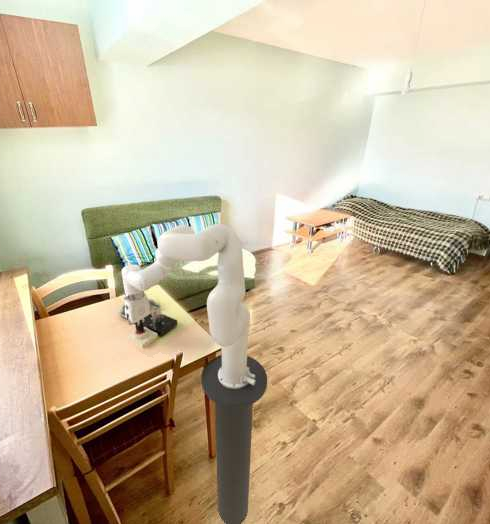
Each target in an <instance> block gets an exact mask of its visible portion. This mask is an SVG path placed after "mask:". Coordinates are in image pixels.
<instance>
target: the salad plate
mask: <svg viewBox="0 0 490 524" xmlns="http://www.w3.org/2000/svg"><path fill="white" fill-rule="evenodd" d="M148 301H149V305H150V314H151V312H152V311H153V310H156V309H158V308H161V305H160V304H157V303H156V301H155V300H154V299H153V298H148ZM123 303H124V304H123V306H122V308H121V309H120V311H119V315H120V317H121V318H124V319H126V316H125V302H123ZM147 316H148V315H147Z"/></svg>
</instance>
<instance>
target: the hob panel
mask: <svg viewBox="0 0 490 524" xmlns="http://www.w3.org/2000/svg"><path fill="white" fill-rule="evenodd" d="M161 316H162V322H160V323H158V324H155V323H153V321H152V313H151V314H149V315H148V316H146V317H145V319H144V323H143V325H144V327H146V328H148V329H149V330H151V331H153V332H156V333H158V337H160V338H161V337H163V336H165V335H166V334H167V333H168V332H170V331H171V330H172V329H173V328H175V327H176V326H178V319H175V318H172V317H171V316H167V315H165V314H162V313H161Z"/></svg>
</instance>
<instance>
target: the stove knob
mask: <svg viewBox="0 0 490 524" xmlns="http://www.w3.org/2000/svg"><path fill="white" fill-rule="evenodd" d="M151 313H152V321H153V323H155V324H158V323H160V322H162V316H161V314H162V310H161V309H158V308H156V309H154V310H153V311H152V312H151Z"/></svg>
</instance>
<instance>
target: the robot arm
mask: <svg viewBox="0 0 490 524" xmlns="http://www.w3.org/2000/svg"><path fill="white" fill-rule="evenodd" d="M217 253H218V255H217ZM215 255H217V256H218V257H217V265H216V269H217V278H218V279H217V284H216V285H215V287H214V288H213V289H212V290H211V291H210V292H209V294H208V297H207V299H206V311H207V319H208V327H209V332H210V336H211V339H212V340H213V341H214V342H215V343H216V344H217V345H218V346H220V347H221V355H222V367H221V368H220V369H219V371H218V379H219V381H220V383H221V384H222V385H223V386H225V387H227V388H231V389H239V388H242V387H244V386H246V385H247V384H248V383H249V384H252V385H255V382H256V380H254V378H255V375H254V374H251V373H250V371H249V367H247V356H248V346H249V345H248V344H249V330H250V325H251V313H250V310H249V309H248V307H247V306H246V305H245V304H244V303H242V302H243V301H244V298H245V296H246V283H245V282H246V281H245V270H244V257H243V246H242V242H241V240H240V237H239V236H238V234H237V233H236V231H234V229H232V228H231V227H230V226H228V225H226V224H222V223H215V224H211V225H209V226H207V227H205V228H203V229H202V230H200V231H198V232H196V231H195V230H194V229H193V228H192V227H191V226H189V225H188V224H179V225H176V226H174V227H172V228H170V229H167V230H165V231H164V232H162V233H161V234H160V235H159V236H158V239H157V248H156V249H155V252H154V257H155V259H156V260H154V262H152V264H150V265H149V266H146V267H145V268H143V269H142V268H141V267H140V265H138V264H128V265H125V266H124V267H123V268H122V269H121V277H122V283H123V290H124V297H123V300H124V303H125V316H126V318H125V319H126V321H127V325H128V326H133V325H135V329H136V330H137V331H139V332H142V331H144V325H143V323H144V319H145V317H146V316H147V315H149V314H150V305H149V301H148V299H149V298H148V295H147V293H145V292H146V291H149V290H150V289H151V288H153V287H154V286H155V285H157V284H159V283H160V282H161V281H163V280H164V279H165V278H166V277H167V276H168V275H169V274H170V273H171V272H172V271H173V269H174V268H175V267H176V264H177V263H178V262H179V261H180V260H183V261H192V262H204V261H207V260H210V259H211V258H213V256H215ZM250 377H251V378H250ZM252 378H253V379H252Z"/></svg>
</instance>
